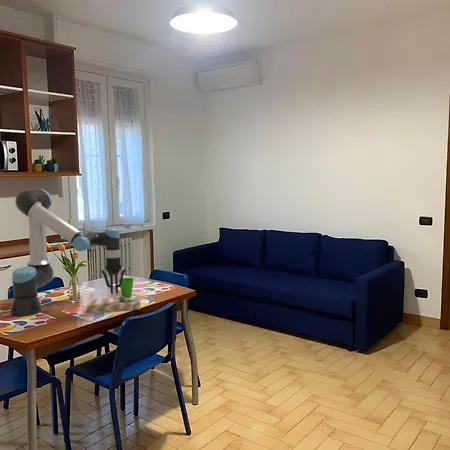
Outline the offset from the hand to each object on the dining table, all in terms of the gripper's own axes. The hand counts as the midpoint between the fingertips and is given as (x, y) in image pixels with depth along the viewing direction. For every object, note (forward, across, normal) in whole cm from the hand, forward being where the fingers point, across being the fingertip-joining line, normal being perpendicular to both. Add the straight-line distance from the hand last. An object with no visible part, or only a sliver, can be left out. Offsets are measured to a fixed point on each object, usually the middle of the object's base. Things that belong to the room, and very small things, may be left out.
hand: (114, 299), depth 254 cm
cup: (+5, +6, +20) cm, 22 cm away
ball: (0, +4, 0) cm, 4 cm away
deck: (+5, 0, +1) cm, 5 cm away
